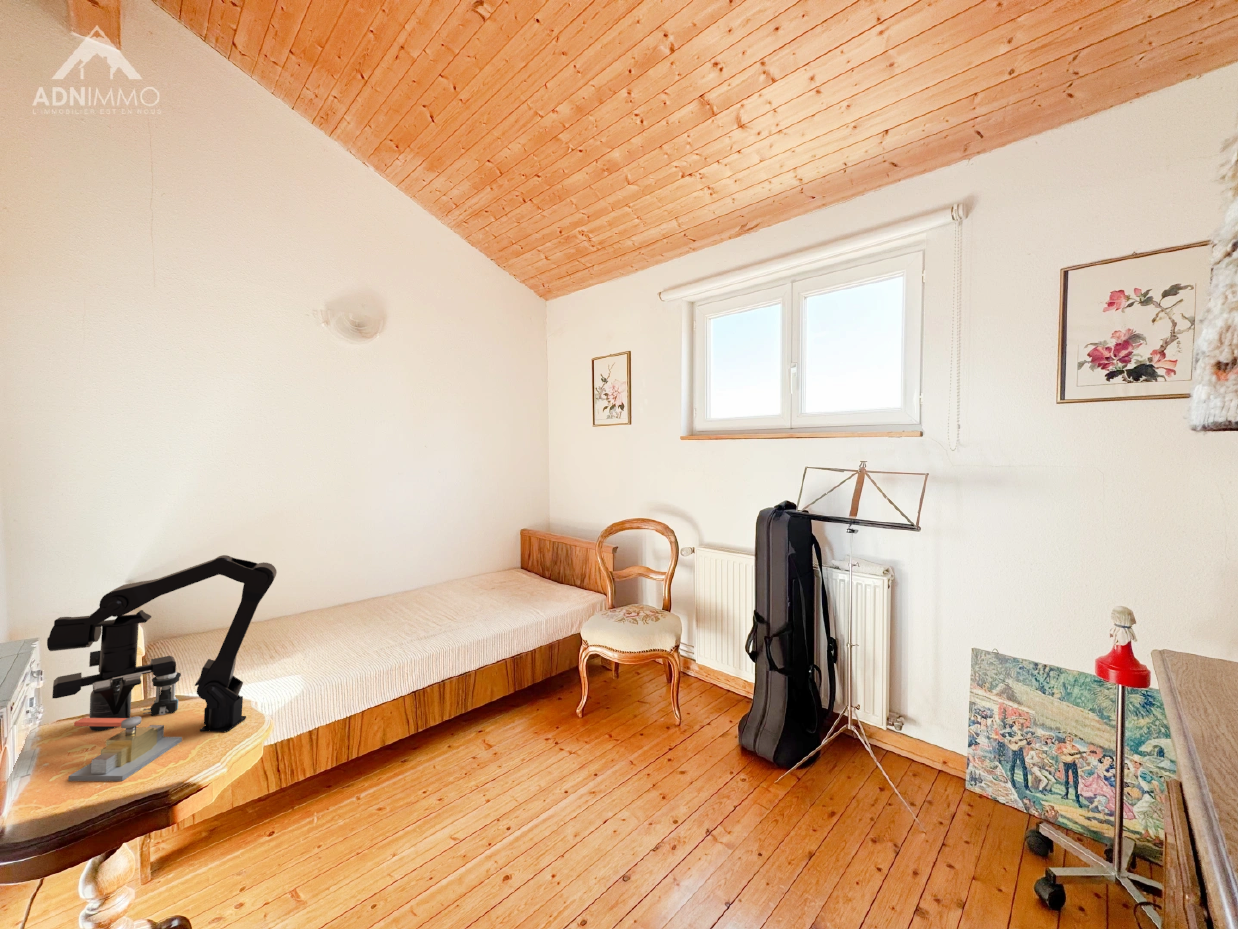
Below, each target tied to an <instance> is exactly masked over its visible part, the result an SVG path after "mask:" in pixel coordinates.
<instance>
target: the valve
mask: <svg viewBox="0 0 1238 929" xmlns="http://www.w3.org/2000/svg"><path fill="white" fill-rule="evenodd" d="M164 734H165V725H164V724H150V725H149V726H147V727H145V726H143V727H137V726H135V727H132V728H126V729H124V730H122V731H121V732H118V733H116V734H115V735H113V736H111V737H110V738H107V739H106V741H105V742H106V743H105V747H103V748H101V749H100V754H99V755H98V756H97V755H96V757H93V758H92V759H91V762H90V763H91V774H106V773H108V772H110V771H111V770H113V769H114V768H116V767H121V766H123V765H125V764H126V763H128V762H132V761H133V760H135V759H137V758H138V757H140V756H141V755H143V754H144V753H146V752H148V751H149V750H151V749H152V748H153V746H155V745H156V744H157V741H159V740H160V739H162V738H164V737H165V736H164Z"/></svg>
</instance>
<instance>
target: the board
mask: <svg viewBox="0 0 1238 929" xmlns="http://www.w3.org/2000/svg"><path fill="white" fill-rule="evenodd" d="M182 742H183V737H182V736H164V738H162V739H160V740H159V741H157V744H156V745H155V746H153V748H152V749H151V750H149V751H148V752H146V753H144V754H143V755H141V756H140V757H138V758H137V759H135V760H133V761H132V762H128V763H126V764H125V765H123V766H121V767H116V768H114V769H113V770H111V771H110V772H108V773H106V774H91V763H92V762H90V763H89V764H87V765H84V766H83V767H82V768H79V769H78V770H76V771H75V772H73V773H71V774H69V775H68V782H122V781H125V780H126V779H127V778H129V777H131V776H132V775H134V774H135V773H136V772H138V771H140V770H141V769H143V768H144V767H146V766H147V765H149V764H150V763H151V762H154V761H155V760H156V759H158V758H159V757H160V756H162V755H163V754H165V753H167V752H168V751H170V750H171V749H173V748H174V747H175V746H177V745H179V744H181V743H182Z"/></svg>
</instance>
